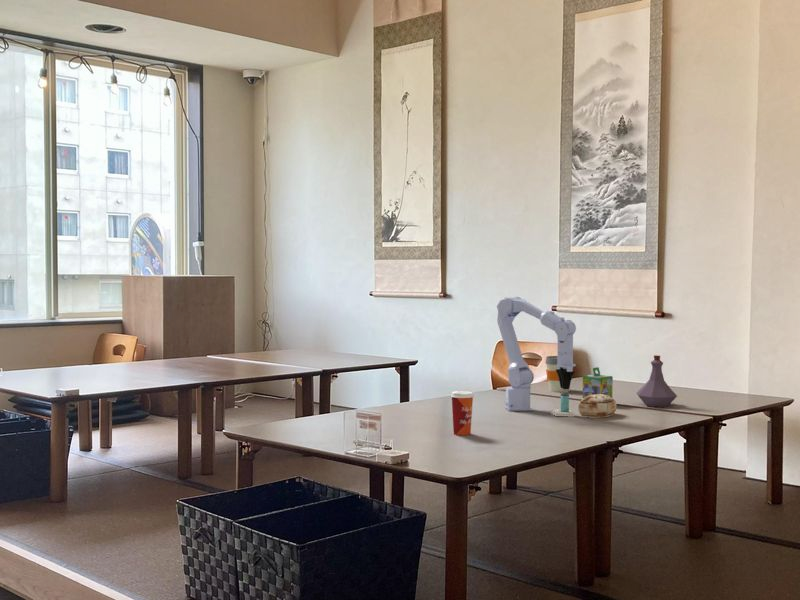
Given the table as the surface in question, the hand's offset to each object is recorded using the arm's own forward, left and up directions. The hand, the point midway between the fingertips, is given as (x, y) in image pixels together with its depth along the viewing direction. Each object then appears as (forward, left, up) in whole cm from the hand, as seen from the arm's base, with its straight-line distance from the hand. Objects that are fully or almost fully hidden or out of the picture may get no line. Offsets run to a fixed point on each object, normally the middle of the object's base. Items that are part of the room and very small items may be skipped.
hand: (564, 388), depth 345 cm
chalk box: (+20, +25, -10) cm, 34 cm away
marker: (0, 0, -9) cm, 9 cm away
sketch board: (-1, 0, -10) cm, 10 cm away
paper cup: (-44, -36, -10) cm, 58 cm away
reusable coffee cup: (+14, +64, -10) cm, 66 cm away
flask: (+43, +21, -10) cm, 49 cm away
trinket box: (+12, -1, -10) cm, 16 cm away
